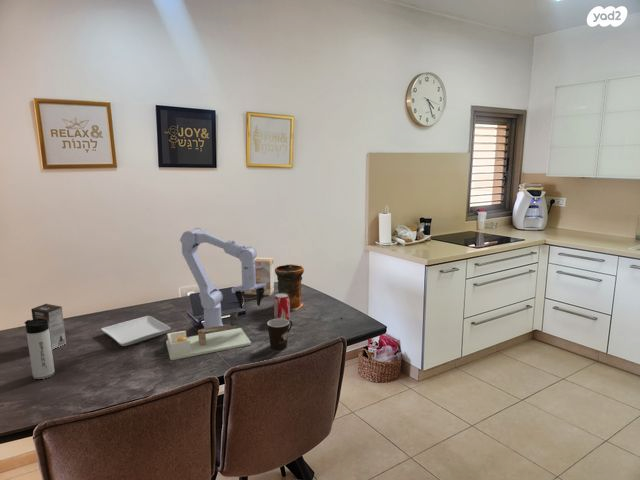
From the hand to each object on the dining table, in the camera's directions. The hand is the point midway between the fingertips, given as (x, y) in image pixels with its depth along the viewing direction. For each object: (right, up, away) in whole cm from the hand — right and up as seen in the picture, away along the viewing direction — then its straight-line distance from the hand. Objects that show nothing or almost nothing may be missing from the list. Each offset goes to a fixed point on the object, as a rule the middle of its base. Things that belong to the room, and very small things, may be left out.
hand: (249, 306), depth 179 cm
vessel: (+15, -5, +31) cm, 34 cm away
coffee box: (-76, -14, -14) cm, 79 cm away
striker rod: (-11, -11, -11) cm, 19 cm away
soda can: (+13, -8, +12) cm, 20 cm away
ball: (-24, -11, -17) cm, 31 cm away
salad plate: (-47, -12, -3) cm, 49 cm away
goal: (-25, -13, -17) cm, 33 cm away
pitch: (-15, -13, -12) cm, 23 cm away
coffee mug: (+15, -14, -14) cm, 25 cm away
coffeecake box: (-3, -1, +50) cm, 51 cm away
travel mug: (-65, -18, -36) cm, 76 cm away
